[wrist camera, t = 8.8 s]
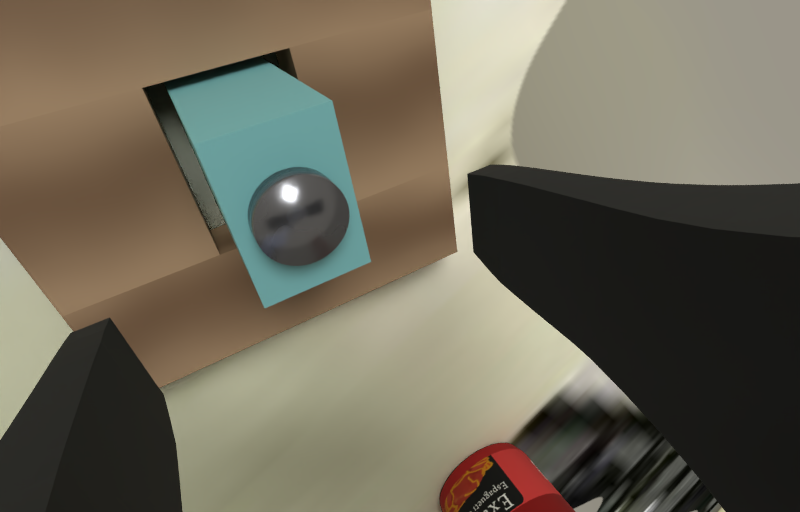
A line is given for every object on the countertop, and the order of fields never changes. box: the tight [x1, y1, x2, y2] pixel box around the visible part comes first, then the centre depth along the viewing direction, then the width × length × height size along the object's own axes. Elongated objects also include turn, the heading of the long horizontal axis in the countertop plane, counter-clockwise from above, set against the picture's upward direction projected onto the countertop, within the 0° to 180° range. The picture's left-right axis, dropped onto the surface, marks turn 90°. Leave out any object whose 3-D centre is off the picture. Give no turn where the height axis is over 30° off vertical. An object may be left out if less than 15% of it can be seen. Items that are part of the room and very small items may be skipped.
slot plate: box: [0, 0, 457, 388], centre depth 16 cm, size 14×14×2 cm
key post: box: [164, 56, 371, 308], centre depth 14 cm, size 4×3×8 cm
